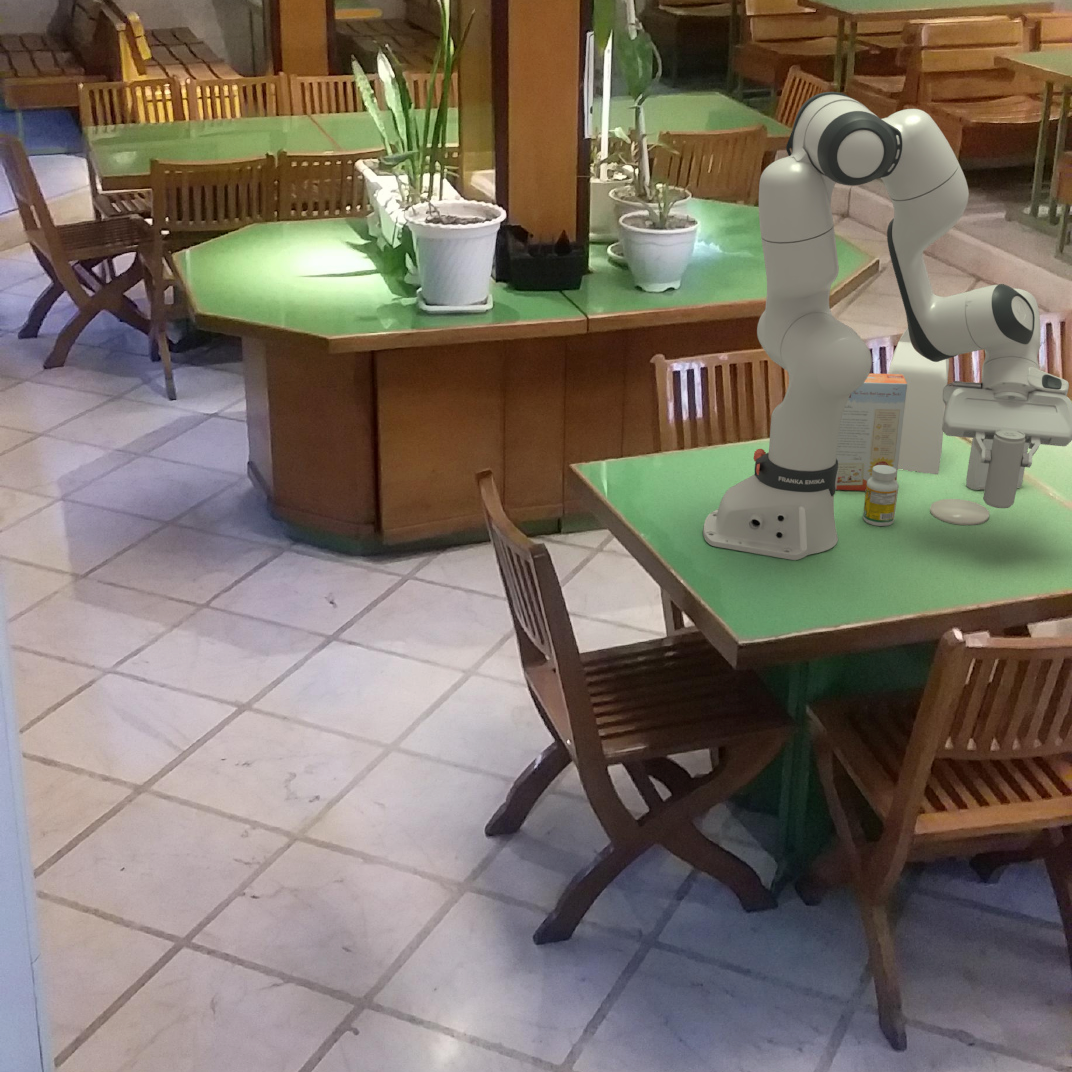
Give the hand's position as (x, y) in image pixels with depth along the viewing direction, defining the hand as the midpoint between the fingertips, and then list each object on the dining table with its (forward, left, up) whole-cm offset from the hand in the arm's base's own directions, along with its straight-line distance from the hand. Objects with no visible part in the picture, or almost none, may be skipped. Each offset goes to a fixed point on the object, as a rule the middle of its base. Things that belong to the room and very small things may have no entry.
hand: (1005, 463), depth 231 cm
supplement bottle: (-18, +13, -17) cm, 28 cm away
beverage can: (0, +1, -7) cm, 7 cm away
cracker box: (-22, +28, -17) cm, 39 cm away
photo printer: (+3, +33, -17) cm, 37 cm away
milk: (-12, +43, -17) cm, 48 cm away
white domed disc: (-4, +19, -17) cm, 26 cm away
